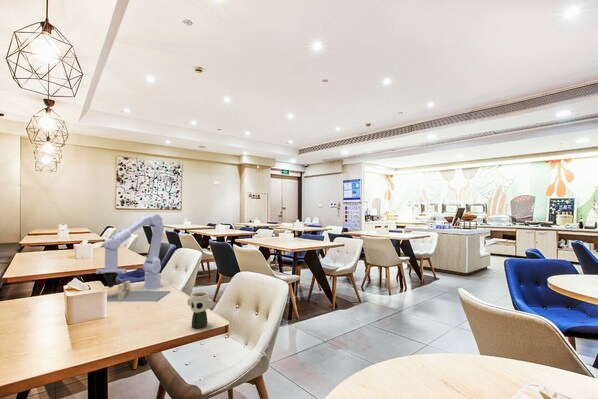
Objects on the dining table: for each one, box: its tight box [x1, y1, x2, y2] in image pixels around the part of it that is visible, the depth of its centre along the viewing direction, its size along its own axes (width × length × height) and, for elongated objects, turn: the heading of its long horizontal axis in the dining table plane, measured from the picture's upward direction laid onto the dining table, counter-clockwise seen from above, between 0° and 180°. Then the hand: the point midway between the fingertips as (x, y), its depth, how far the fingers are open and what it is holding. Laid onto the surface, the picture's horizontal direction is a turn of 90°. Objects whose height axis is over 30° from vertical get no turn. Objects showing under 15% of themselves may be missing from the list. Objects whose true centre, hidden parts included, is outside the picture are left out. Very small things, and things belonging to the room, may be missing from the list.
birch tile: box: [117, 280, 131, 300], centre depth 157 cm, size 9×2×8 cm, turn 2°
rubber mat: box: [106, 290, 171, 303], centre depth 159 cm, size 18×28×1 cm, turn 92°
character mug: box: [187, 291, 213, 329], centre depth 121 cm, size 11×7×13 cm, turn 78°
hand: (110, 286), depth 157 cm, fingers closed
